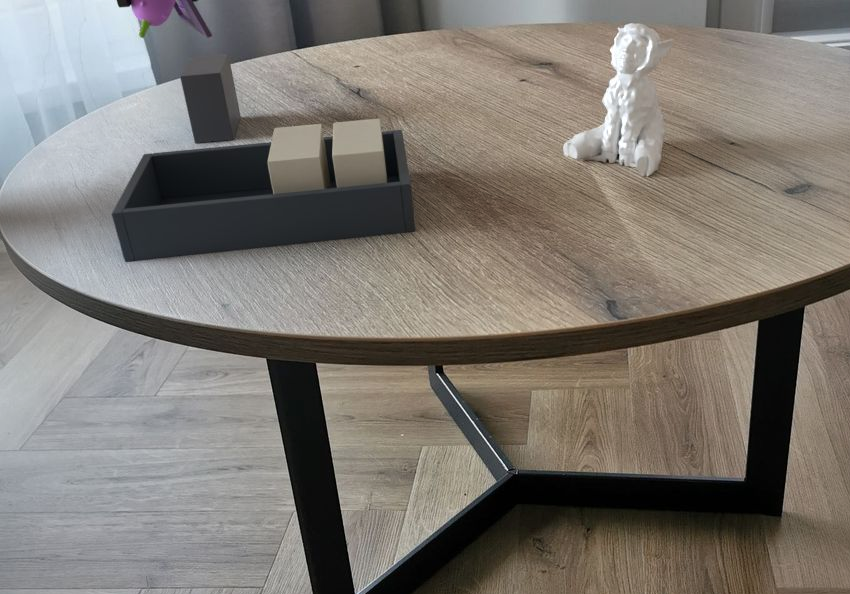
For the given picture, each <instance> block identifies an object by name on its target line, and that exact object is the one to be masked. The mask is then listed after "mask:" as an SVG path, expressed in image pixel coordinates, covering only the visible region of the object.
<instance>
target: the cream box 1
mask: <svg viewBox="0 0 850 594" xmlns="http://www.w3.org/2000/svg"><path fill="white" fill-rule="evenodd" d="M324 137H325V136H324V131H323V124H322V123H313V124H303V125H301V124H300V125H293V126H282V127H281V126H280V127H274V129H273V134H272V138H271V141H270V142H271V147H270V152H269V157H268V168H269V173H270V178H271V184H272V189H273V194H279V193H289V192H299V191H310V190H320V189H330V188H331V183H330V176H329V170H328V163H327V156H326V150H325V143H324Z"/></svg>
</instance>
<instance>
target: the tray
mask: <svg viewBox="0 0 850 594" xmlns="http://www.w3.org/2000/svg"><path fill="white" fill-rule="evenodd" d="M323 137H324V143H325V150H326V156H327V163H328V170H329V176H330V183H331V188H330V189H320V190H310V191H299V192H289V193H279V194H273V189H272V184H271V178H270V173H269V168H268V157H269V152H270V147H271V142H272V141H269V142H257V143H245V144H237V145H235V144H234V145H226V146H225V145H224V146H215V147H204V148H194V149H193V148H192V149H183V150H182V149H181V150H171V151H162V152H153V153H152V152H151V153H144V154H143V155H142V156H141V158H140V161H139V162H138V164H137V166H136V168H135V169H134V172H133V173H132V175H131V176H130V179H129V180H128V182H127V185H126V186H125V188H124V190H123V192H122V194H121V195H120V197H119V199H118V200H117V203H116V205H115V206H114V208H113V210H112V212H111V217H112V221H113V225H114V228H115V232H116V235H117V238H118V239H117V240H118V242H119V246H120V249H121V250H120V251H121V254H122V257H123V260H124V262H125V263H132V262H142V261H150V260H151V261H152V260H161V259H170V258H179V257H188V256H199V255H207V254H217V253H218V254H219V253H226V252H227V253H228V252H235V251H236V252H237V251H247V250H255V249H264V248H274V247H284V246H294V245H304V244H313V243H325V242H333V241H342V240H351V239H361V238H373V237H381V236H390V235H399V234H401V235H402V234H408V233H409V234H410V233H416V220H415V210H414V201H413V192H412V184H411V178H410V171H409V166H408V165H409V163H408V159H407V153H406V146H405V141H404V134H403V130H402V129H396V130H384V131H382V139H383V147H384V155H385V164H386V172H387V181H388V183H380V184H370V185H360V186H350V187H340V188H337V185H336V178H335V171H334V164H333V158H332V150H333V135H332V136H331V135H330V136H323Z"/></svg>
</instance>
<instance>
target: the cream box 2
mask: <svg viewBox="0 0 850 594" xmlns="http://www.w3.org/2000/svg"><path fill="white" fill-rule="evenodd" d="M381 123H382V122H381V118H369V119H359V120H357V119H356V120H347V121H337V122H333V125H332V136H333V150H332V158H333V164H334V171H335V178H336V185H337V188H340V187H350V186H360V185H370V184H380V183H388V181H387V172H386V164H385V155H384V147H383V139H382V132H383V131H382V124H381Z"/></svg>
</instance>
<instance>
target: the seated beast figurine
mask: <svg viewBox="0 0 850 594" xmlns="http://www.w3.org/2000/svg"><path fill="white" fill-rule="evenodd" d="M617 30H618V32H617V34H616V36H615V37H614V39H613V41H614V44H613V45H612V46H610V48H609V52H610V53H611V56H610V57H611V61H610V65H611V66H612V67H613V69H614V70H615V71H616V74H615V76H614V77H612V78H610V80H609V84H608V85H609V86H608V87H607V88H606V91H605V93H604V94H603V97H602V99H601V102H602V104H603V106H604V107H605V109H606V111H607V113H606V115H605V117H604V122H603V123H602V124H601V125H599V126H598V127H593V128H590V129H589V130H584V131H580V132H579V133H576V134H574V136H573V137H572V138H570V139H569V140H567V141H566V142H564V143H563V147H562V149H563V155H564V156H566V157H570V158H572V159H574V160H579V159H582V161H583V162H586V161H596V162H602V163H607V161H608V163H609V164H613V163H619V165H620V166H623V165H624V167H632V168H636V170H637V172H638V174H639V175H640V176H641V177H650V176H652V175H653V174H655V172H658V171H659V165H660V164H661V161H662V152H663V146H664V142H665V134H666V131H667V128H666V125H665V122H664V116H663V114H662V109H661V108H660V106H659V101H658V100H659V96H658V94H657V93H658V89H657V85H656V83H654V81H653V80H652V78H651V76H650V73H652V72H653V71H655V70H657V69H658V66H659V64H660V62H661V60H662V58H665V56H667V55H668V54H669V53H670V52H671V50H672V47H673V44H674V41H675V39H674V38H673V39H672V38H670V39H667V40H661V39H660V34H659V33H657V31H656V30H655V29H653V28H651V27H648V26H647V25H646V24H642V23H640V22H637V23H633V22H630V23H626V24H625V25H624V27H619V26H618V27H617ZM618 155H619V156H618Z"/></svg>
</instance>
